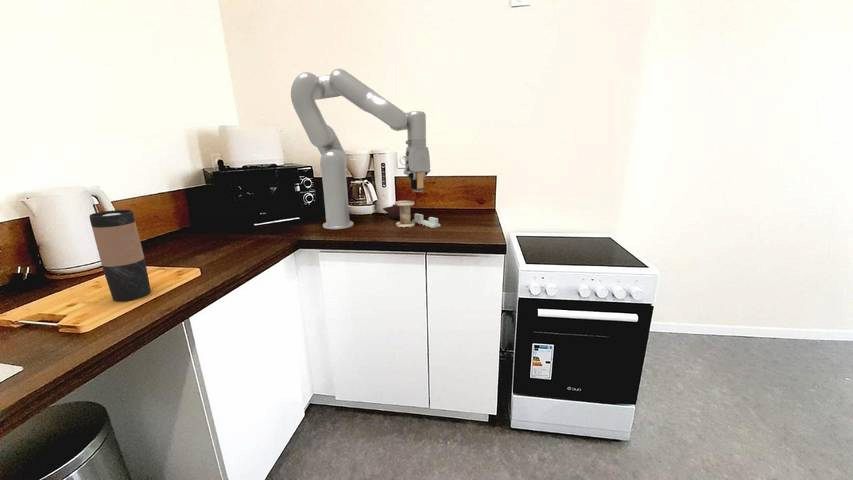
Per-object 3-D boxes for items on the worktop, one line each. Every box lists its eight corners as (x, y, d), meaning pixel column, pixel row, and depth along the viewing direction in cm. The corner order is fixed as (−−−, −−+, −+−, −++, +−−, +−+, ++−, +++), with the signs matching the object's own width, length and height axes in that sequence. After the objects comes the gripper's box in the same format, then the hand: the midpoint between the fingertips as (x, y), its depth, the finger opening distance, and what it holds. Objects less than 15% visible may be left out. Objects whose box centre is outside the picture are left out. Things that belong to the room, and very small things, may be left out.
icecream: (376, 204, 163) (401, 211, 155) (387, 198, 168) (411, 204, 160) (378, 218, 167) (403, 225, 159) (389, 212, 172) (413, 218, 164)
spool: (392, 225, 151) (391, 202, 149) (407, 222, 156) (406, 199, 153) (403, 228, 145) (402, 204, 143) (418, 225, 150) (418, 202, 148)
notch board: (412, 222, 157) (412, 214, 156) (419, 220, 159) (419, 213, 158) (433, 227, 146) (433, 219, 145) (440, 226, 149) (440, 218, 148)
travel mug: (159, 288, 89) (141, 209, 83) (136, 302, 81) (115, 216, 76) (128, 289, 88) (107, 209, 83) (102, 302, 81) (78, 216, 76)
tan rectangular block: (412, 191, 151) (411, 171, 149) (417, 190, 153) (417, 171, 151) (417, 192, 148) (417, 172, 146) (423, 191, 150) (423, 172, 147)
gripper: (405, 143, 137) (407, 191, 142) (438, 143, 147) (438, 187, 152) (395, 143, 143) (396, 189, 148) (426, 143, 153) (427, 186, 158)
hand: (417, 188), depth 150 cm, fingers closed on tan rectangular block, 3 cm apart
